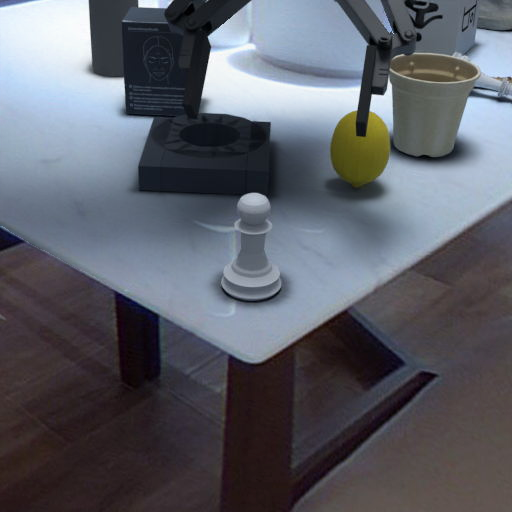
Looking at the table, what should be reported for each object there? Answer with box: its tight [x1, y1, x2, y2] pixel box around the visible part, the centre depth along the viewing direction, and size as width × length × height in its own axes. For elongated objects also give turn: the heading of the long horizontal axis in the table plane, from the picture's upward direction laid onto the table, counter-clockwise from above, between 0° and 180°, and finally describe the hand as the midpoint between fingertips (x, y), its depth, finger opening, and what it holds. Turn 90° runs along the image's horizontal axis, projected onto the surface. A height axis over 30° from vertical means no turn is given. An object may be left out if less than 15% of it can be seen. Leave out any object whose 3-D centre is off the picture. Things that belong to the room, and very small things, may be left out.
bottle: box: [88, 0, 140, 77], centre depth 114 cm, size 6×6×15 cm
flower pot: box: [388, 53, 482, 158], centre depth 98 cm, size 9×9×9 cm
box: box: [122, 6, 187, 117], centre depth 105 cm, size 8×6×11 cm
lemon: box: [329, 109, 391, 189], centre depth 89 cm, size 6×6×8 cm
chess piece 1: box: [220, 193, 282, 302], centre depth 73 cm, size 5×5×8 cm
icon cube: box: [404, 0, 481, 56], centre depth 126 cm, size 10×10×10 cm
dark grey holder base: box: [137, 112, 272, 196], centre depth 94 cm, size 12×14×2 cm
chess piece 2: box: [453, 52, 512, 98], centre depth 113 cm, size 4×4×10 cm
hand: (273, 121), depth 75 cm, fingers open, 13 cm apart
